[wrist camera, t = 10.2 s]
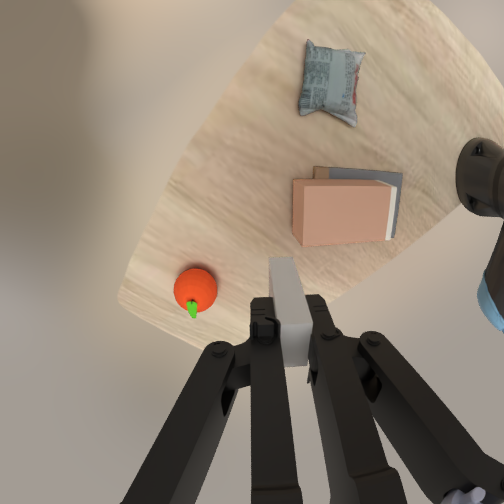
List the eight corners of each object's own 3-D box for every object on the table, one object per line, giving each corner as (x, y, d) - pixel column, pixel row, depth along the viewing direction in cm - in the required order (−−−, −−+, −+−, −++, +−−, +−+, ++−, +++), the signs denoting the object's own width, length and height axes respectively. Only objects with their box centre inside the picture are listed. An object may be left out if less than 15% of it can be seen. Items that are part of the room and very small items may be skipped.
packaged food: (359, 57, 31) (371, 49, 27) (351, 127, 36) (363, 127, 32) (303, 43, 31) (309, 32, 26) (293, 115, 36) (299, 113, 31)
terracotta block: (293, 179, 37) (378, 180, 39) (292, 233, 41) (374, 228, 42) (304, 186, 33) (396, 187, 34) (302, 247, 36) (390, 240, 38)
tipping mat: (401, 173, 39) (406, 175, 37) (392, 236, 43) (396, 240, 42) (313, 166, 39) (315, 167, 37) (309, 236, 43) (311, 240, 42)
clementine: (219, 302, 48) (215, 328, 42) (181, 300, 48) (172, 325, 42) (219, 261, 45) (214, 284, 38) (177, 260, 45) (166, 282, 38)
